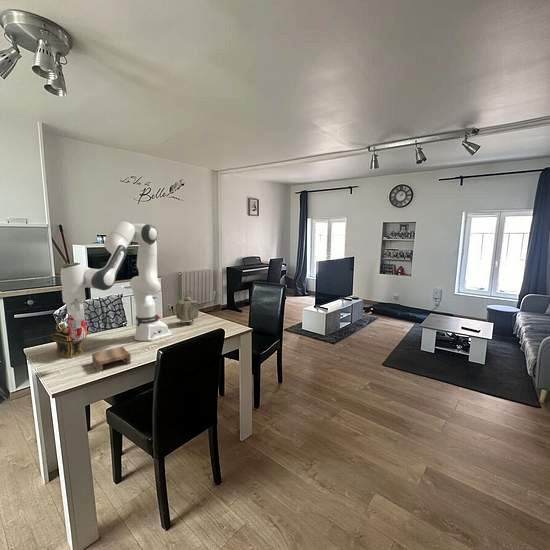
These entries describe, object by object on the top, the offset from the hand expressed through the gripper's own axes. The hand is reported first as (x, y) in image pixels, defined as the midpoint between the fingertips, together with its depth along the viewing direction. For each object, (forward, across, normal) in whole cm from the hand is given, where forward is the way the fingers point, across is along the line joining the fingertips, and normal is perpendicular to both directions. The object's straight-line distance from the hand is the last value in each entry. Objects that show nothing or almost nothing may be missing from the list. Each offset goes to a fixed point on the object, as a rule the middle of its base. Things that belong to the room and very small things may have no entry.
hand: (76, 325), depth 136 cm
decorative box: (+21, +24, +2) cm, 32 cm away
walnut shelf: (+21, -5, -12) cm, 25 cm away
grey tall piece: (+22, +31, -72) cm, 82 cm away
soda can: (+7, 0, 0) cm, 7 cm away
